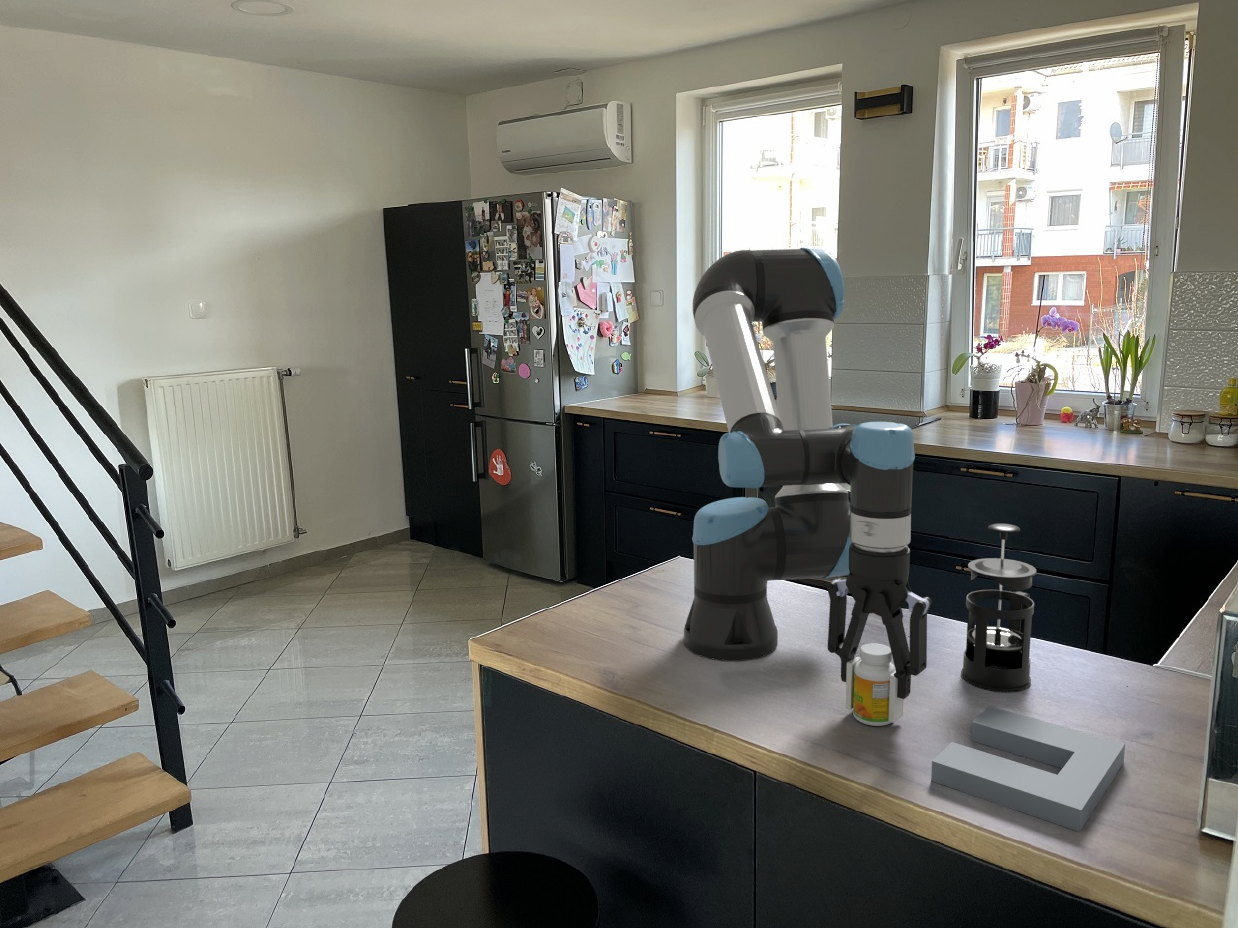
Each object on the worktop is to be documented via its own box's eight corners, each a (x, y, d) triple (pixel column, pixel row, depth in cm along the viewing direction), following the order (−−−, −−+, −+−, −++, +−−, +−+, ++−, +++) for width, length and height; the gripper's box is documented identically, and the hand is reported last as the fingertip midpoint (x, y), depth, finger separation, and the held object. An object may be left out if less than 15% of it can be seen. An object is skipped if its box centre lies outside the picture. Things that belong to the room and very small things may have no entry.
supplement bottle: (847, 709, 124) (849, 641, 122) (885, 706, 124) (888, 639, 122) (860, 728, 118) (863, 658, 116) (901, 725, 119) (903, 655, 117)
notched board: (931, 780, 106) (932, 760, 105) (987, 723, 119) (988, 705, 118) (1079, 831, 95) (1081, 810, 95) (1123, 762, 109) (1125, 743, 108)
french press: (1004, 699, 125) (1014, 539, 121) (945, 677, 133) (951, 525, 129) (1050, 677, 132) (1060, 523, 128) (991, 657, 140) (999, 511, 135)
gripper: (800, 538, 120) (798, 702, 124) (937, 564, 108) (929, 744, 112) (829, 526, 125) (825, 683, 130) (962, 549, 113) (953, 721, 118)
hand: (873, 711), depth 121 cm, fingers closed on supplement bottle, 5 cm apart
